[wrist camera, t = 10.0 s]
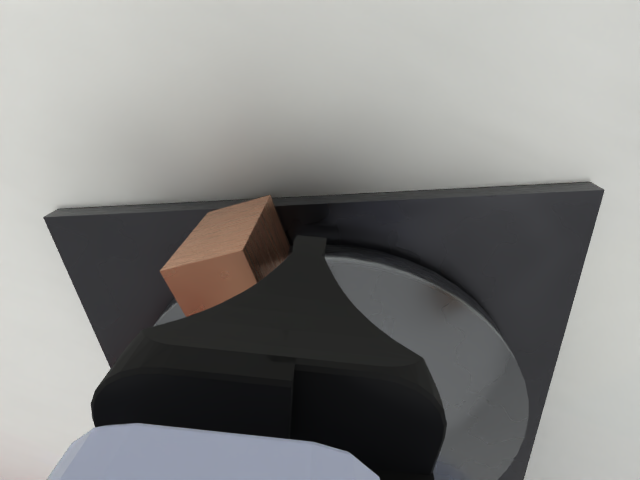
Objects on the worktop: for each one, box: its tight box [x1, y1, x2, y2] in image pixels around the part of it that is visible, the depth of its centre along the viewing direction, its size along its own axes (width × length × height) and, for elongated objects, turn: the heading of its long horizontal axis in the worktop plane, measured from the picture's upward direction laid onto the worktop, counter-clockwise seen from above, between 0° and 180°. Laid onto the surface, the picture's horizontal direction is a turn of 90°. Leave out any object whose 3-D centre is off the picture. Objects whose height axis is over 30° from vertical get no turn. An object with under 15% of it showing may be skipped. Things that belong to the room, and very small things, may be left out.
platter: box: [153, 195, 529, 480], centre depth 16 cm, size 19×17×4 cm
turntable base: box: [43, 182, 604, 480], centre depth 18 cm, size 20×20×1 cm
